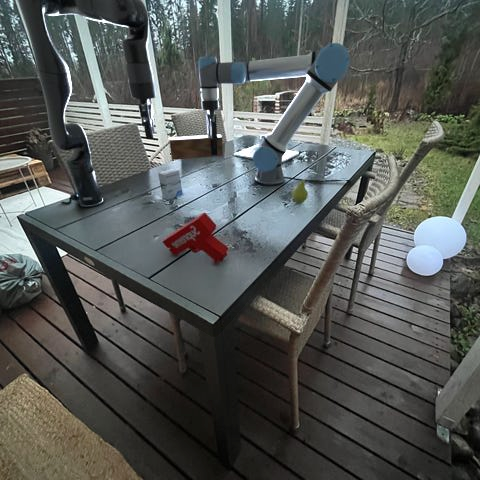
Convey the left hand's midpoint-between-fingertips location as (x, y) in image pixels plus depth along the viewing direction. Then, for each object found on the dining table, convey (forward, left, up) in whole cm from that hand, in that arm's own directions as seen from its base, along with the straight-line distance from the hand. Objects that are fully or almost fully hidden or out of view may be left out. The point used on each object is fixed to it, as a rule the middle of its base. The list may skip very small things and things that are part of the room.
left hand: (150, 136), depth 92 cm
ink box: (-9, +21, -32) cm, 39 cm away
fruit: (+49, +32, -32) cm, 67 cm away
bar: (-1, +35, -16) cm, 39 cm away
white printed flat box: (+17, +102, -32) cm, 108 cm away
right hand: (+5, +40, -15) cm, 43 cm away
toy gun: (+23, -19, -32) cm, 44 cm away
